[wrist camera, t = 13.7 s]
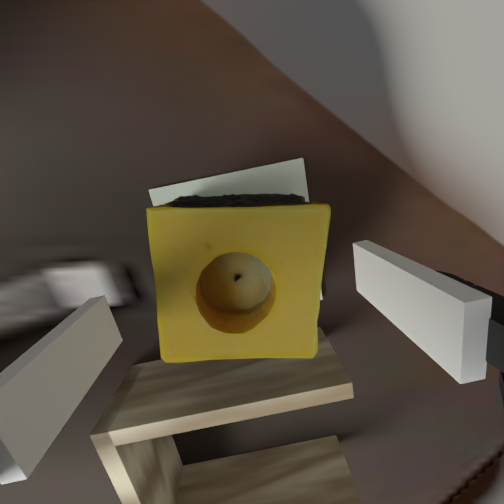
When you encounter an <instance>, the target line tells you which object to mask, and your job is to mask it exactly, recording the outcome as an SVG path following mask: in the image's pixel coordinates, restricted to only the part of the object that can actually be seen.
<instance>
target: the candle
mask: <svg viewBox="0 0 504 504" xmlns="http://www.w3.org/2000/svg"><path fill="white" fill-rule="evenodd" d="M146 210H147V225H148V235H149V244H150V253H151V259H152V265H153V271H154V280H155V288H156V300H157V322H158V330H159V342H160V353H161V358H162V359H163V360H164V362H165V363H183V362H194V361H204V360H220V359H251V358H314V357H315V355H316V353H317V351H318V329H317V320H318V314H319V308H320V293H321V286H322V284H323V282H322V274H323V267H324V260H325V253H326V247H327V239H328V231H329V224H330V216H331V208H330V206H329V205H328V204H327V203H317V202H305V197H303V196H299V195H296V194H292V193H291V194H289V195H286V194H275V193H273V194H267V193H266V194H239V195H235V194H231V195H223V196H209V197H201V196H198V195H193V196H179V197H178V198H176V199H174V200H173V201H171V202H168V203H165V204H162V205H159V206H152V207H149V208H146Z"/></svg>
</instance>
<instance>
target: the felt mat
mask: <svg viewBox="0 0 504 504" xmlns="http://www.w3.org/2000/svg"><path fill="white" fill-rule="evenodd" d="M149 193H150V197H151V200H152V203H153V206H159V205H162V204H165V203H168V202H171V201H173V200H174V199H176V198H178V197H179V196H193V195H198V196H201V197H209V196H223V195H231V194H235V195H239V194H266V193H267V194H273V193H275V194H286V195H289V194H291V193H292V194H296V195H299V196H303V197H305V202H309V197H308V189H307V182H306V175H305V168H304V160H303V158H299V159H294V160H290V161H285V162H280V163H275V164H270V165H265V166H261V167H256V168H251V169H246V170H241V171H237V172H232V173H227V174H222V175H217V176H212V177H208V178H203V179H198V180H193V181H188V182H184V183H179V184H174V185H169V186H164V187H160V188H155V189H150V190H149ZM320 300H323V298H322V291H321V293H320Z"/></svg>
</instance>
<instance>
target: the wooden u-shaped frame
mask: <svg viewBox="0 0 504 504" xmlns="http://www.w3.org/2000/svg"><path fill="white" fill-rule="evenodd" d="M317 329H318V351H317V353H316V355H315V357H314V358H251V359H220V360H204V361H194V362H183V363H165V362H164V360H163V359H161V360H156V361H151V362H146V363H141V364H136V365H132V366H131V368H130V369H129V371H128V373H127V374H126V376H125V378H124V379H123V381H122V383H121V384H120V386H119V388H118V389H117V391H116V393H115V394H114V396H113V398H112V399H111V401H110V403H109V404H108V406H107V408H106V409H105V411H104V413H103V414H102V416H101V418H100V419H99V421H98V423H97V424H96V426H95V428H94V429H93V431H92V433H91V434H90V438H91V440H92V442H93V444H94V446H95V448H96V450H97V452H98V454H99V456H100V458H101V460H102V463H103V465H104V467H105V469H106V471H107V473H108V475H109V477H110V479H111V481H112V483H113V485H114V487H115V490H116V492H117V494H118V496H119V498H120V500H121V502H122V504H362V501H361V499H360V496H359V493H358V491H357V488H356V486H355V483H354V480H353V478H352V475H351V473H350V470H349V467H348V465H347V462H346V460H345V457H344V454H343V452H342V449H341V447H340V444H339V441H338V439H337V436H336V435H333V436H328V437H323V438H318V439H313V440H308V441H303V442H298V443H293V444H288V445H283V446H278V447H273V448H268V449H263V450H258V451H253V452H249V453H244V454H239V455H234V456H229V457H224V458H219V459H214V460H209V461H204V462H199V463H194V464H189V465H184V466H183V464H182V461H181V459H180V456H179V453H178V450H177V448H176V445H175V442H174V440H173V437H172V434H177V433H182V432H187V431H192V430H197V429H202V428H207V427H212V426H217V425H222V424H227V423H232V422H237V421H242V420H247V419H252V418H257V417H262V416H267V415H272V414H276V413H281V412H286V411H291V410H296V409H301V408H306V407H311V406H316V405H321V404H326V403H331V402H336V401H341V400H346V399H351V398H354V396H353V387H352V382H351V380H350V378H349V376H348V375H347V373H346V371H345V369H344V368H343V366H342V364H341V362H340V361H339V359H338V357H337V355H336V354H335V352H334V350H333V348H332V347H331V345H330V343H329V341H328V340H327V338H326V336H325V334H324V333H323V331H322V329H321V327H318V328H317Z"/></svg>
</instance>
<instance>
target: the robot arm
mask: <svg viewBox="0 0 504 504" xmlns="http://www.w3.org/2000/svg"><path fill="white" fill-rule="evenodd" d="M353 252H354V263H355V275H356V287H357V291H358V292H359V293H360V294H361V295H362V296H364V297H365V298H366V299H367V300H368V301H369V302H370V303H371V304H372V305H373V306H375V307H376V308H377V309H378V310H379V311H380V312H381V313H382V314H383V315H385V316H386V317H387V318H388V319H389V320H390V321H391V322H392V323H393V324H395V325H396V326H397V327H398V328H399V329H400V330H401V331H402V332H403V333H404V334H406V335H407V336H408V337H409V338H410V339H411V340H412V341H413V342H414V343H416V344H417V345H418V346H419V347H420V348H421V349H422V350H423V351H424V352H426V353H427V354H428V355H429V356H430V357H431V358H432V359H433V360H434V361H435V362H437V363H438V364H439V365H440V366H441V367H442V368H443V369H444V370H445V371H447V372H448V373H449V374H450V375H451V376H452V377H453V378H454V379H455V380H457V381H458V382H459V383H460V384H463V383H468V382H473V381H477V380H482V379H485V376H486V365H487V362H488V363H490V364H491V365H493V366H494V367H495V368H497V369H498V370H499V371H500V375H499V384H498V394H497V402H499V403H502V401H503V405H504V296H501V295H499V294H497V293H494V292H492V291H490V290H487V289H485V288H483V287H481V286H478V285H476V286H475V284H474V283H471V282H469V281H465V280H464V279H462V278H460V277H458V276H455V275H453V274H450V273H445V272H441V271H437V270H435V271H434V270H432V269H430V268H427V267H425V266H423V265H421V264H419V263H416V262H414V261H412V260H410V259H408V258H405V257H403V256H401V255H399V254H397V253H395V252H392V251H390V250H388V249H386V248H384V247H381V246H379V245H377V244H375V243H373V242H370V241H368V240H365V241H360V242H355V243H353ZM122 341H123V340H122V337H121V335H120V332H119V330H118V327H117V325H116V323H115V320H114V318H113V315H112V313H111V310H110V308H109V305H108V303H107V300H106V298H105V295H104V296H100V297H95V298H90V299H89V300H88V301H86V302H85V303H84V304H83V305H82V306H80V307H79V308H78V309H77V310H75V311H74V312H73V313H72V314H71V315H69V316H68V317H67V318H66V319H65V320H63V321H62V322H61V323H60V324H59V325H57V326H56V327H55V328H54V329H53V330H51V331H50V332H49V333H48V334H47V335H45V336H44V337H43V338H42V339H40V340H39V341H38V342H37V343H36V344H34V345H33V346H32V347H31V348H30V349H28V350H27V351H26V352H25V353H24V354H22V355H21V356H20V357H19V358H18V359H16V360H15V361H14V362H13V363H12V364H10V365H9V366H8V367H7V368H5V369H4V370H3V371H2V372H1V373H0V483H1V485H2V484H6V483H11V482H16V481H20V480H25V479H28V477H29V476H30V474H31V473H32V471H33V470H34V468H35V467H36V466H37V464H38V463H39V461H40V460H41V458H42V457H43V455H44V454H45V452H46V451H47V450H48V448H49V447H50V445H51V444H52V442H53V441H54V439H55V438H56V437H57V435H58V434H59V432H60V431H61V429H62V428H63V426H64V425H65V423H66V422H67V421H68V419H69V418H70V416H71V415H72V413H73V412H74V410H75V409H76V407H77V406H78V405H79V403H80V402H81V400H82V399H83V397H84V396H85V394H86V393H87V392H88V390H89V389H90V387H91V386H92V384H93V383H94V381H95V380H96V378H97V377H98V376H99V374H100V373H101V371H102V370H103V368H104V367H105V365H106V364H107V363H108V361H109V360H110V358H111V357H112V355H113V354H114V352H115V351H116V349H117V348H118V347H119V345H120V344H121V342H122Z"/></svg>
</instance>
